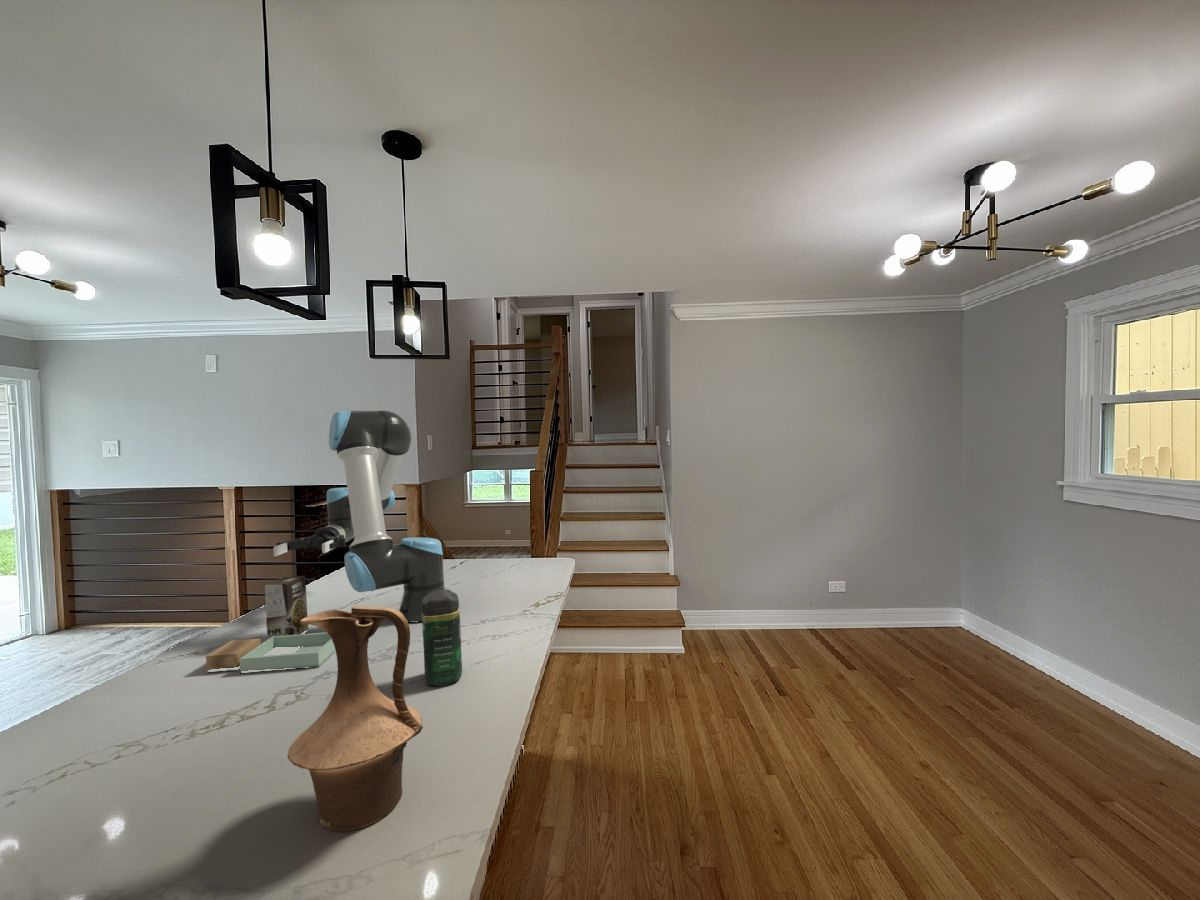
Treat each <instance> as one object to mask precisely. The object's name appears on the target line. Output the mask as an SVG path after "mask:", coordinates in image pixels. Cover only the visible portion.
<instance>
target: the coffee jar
mask: <svg viewBox="0 0 1200 900" xmlns="http://www.w3.org/2000/svg"><path fill="white" fill-rule="evenodd" d="M421 606H422V622H421V623H422V624H421V625H422V641H423V644H422V645H423V663H424V664H423V665H424V666H423V667H424V669H423V670H424V680H425V681H424V682H426V685H429V686H438V687H439V686H448V685H451V684H452V683H454V682H458V681H459V680H460V679H461V678H462V675H463V659H462V655H463V654H462V635H461V633H462V631H461V615H460V613H461V612H460V601H459V596H458V594H457V593H456V592H454V591H452V590H450V589H449V588H447V589H445V590H437V591H431V592H430V593H429V594H428V595H426V596H425V597H424V598H423V600H422V604H421Z"/></svg>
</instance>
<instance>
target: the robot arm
mask: <svg viewBox="0 0 1200 900" xmlns="http://www.w3.org/2000/svg"><path fill="white" fill-rule="evenodd" d="M328 445H329V449H330V451H333V452H336V456H337V458H338V459H339V460H341V461H343V464H344V465H343V466H344V472H345V479H346V487H334V488H329V489H327V491H326V511H327V525H326V526H324V527H321V528H319V529H317V530H316V531H315V532H314V534H313V535H311V536H308V537H307V536H306V537H305V536H304V537H299V538H295V539H292V540H286V541H281V542H277V543H276V544H275V546H273V557H279V556H280V555H285V554H286V553H287V552H288V551H294V550H300V549H312V548H313V549H318V550H320V551H321V552H322V554H326V553H328V552H330V551H333V550H334V549H339V548H340V547H341V548H346V545H347V544H346V543H347V542H349V541H351V540H352V539H353V541H352V543H351V544H350V545H349V551H347V552H346V553H345V555H344V559H343V560H344V568H345V572H346V573H345V574H346V576H347V579H348V582H349V584H350V586H351V588H352V589H353V590H354V591H355V592H357V593H367V592H374V591H377V590H383V589H387V588H392V587H397V586H403V595H402V598H401V601H400V605H399V609H398V611H399V612H401V613H402V614H403V615H404V617H405V618H406V620H407V621H422V606H421V604H422V600H423V598H424V597H425V596H426V595H428V594H429V593H430V592H431V591H437V590H446V587H445V576H444V556H443V555H444V552H443V547H442V543H441V541H440V540H439V539H437V538H434V537H420V536H419V537H417V536H416V537H404V538H401V540H400V542H399V543H400V544H396V545H395V544H394V540H393V538H392V537H391V536H390V535H388V534H387V531H386V524H385V518H384V511H386V510H390V509H393V508H394V506H395V501H396V499H395V498H396V497H395V493H394V490H393V487H394V483H395V481H396V478H397V474H398V473H399V469H400V467H401V464H402V461H403V458H404V456H405V454H407V453H408V452H409V450H410V447H411V445H412V434H411V430H410V427H409V425H408V424H407V422H406V421H405V420H404V418H402V417H401V416H400V415H399V414H397V413H395V412H393V411H390V410H351V409H350V410H341V411H340V410H339V411H336V412H335V413H334V414H333V415H332V416H331V419H330V423H329V431H328ZM376 456H377V459H376Z"/></svg>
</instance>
